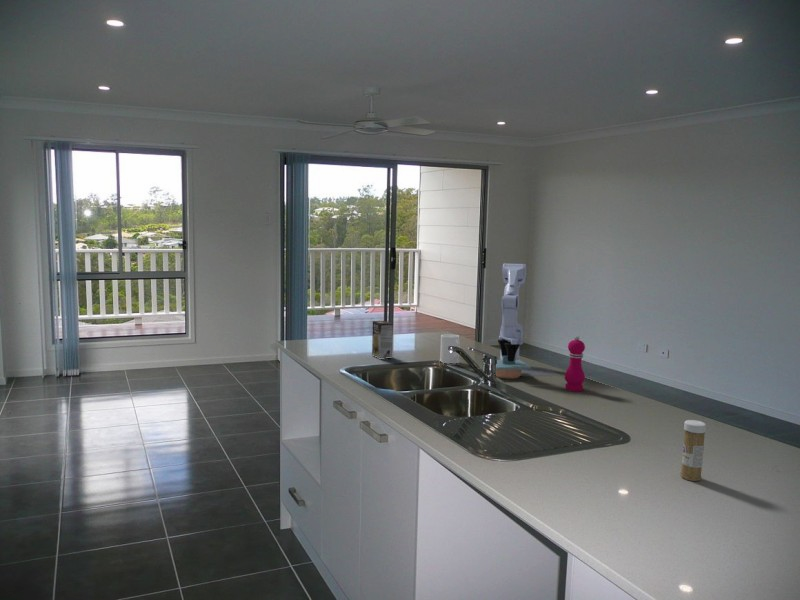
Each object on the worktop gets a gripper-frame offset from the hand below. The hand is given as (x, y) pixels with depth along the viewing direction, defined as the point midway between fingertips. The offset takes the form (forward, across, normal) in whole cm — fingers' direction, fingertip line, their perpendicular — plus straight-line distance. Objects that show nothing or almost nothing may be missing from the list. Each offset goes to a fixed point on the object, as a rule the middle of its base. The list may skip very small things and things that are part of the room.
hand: (507, 359), depth 245 cm
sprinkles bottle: (+7, +104, +12) cm, 105 cm away
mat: (+7, -7, +14) cm, 17 cm away
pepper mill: (+7, +21, +19) cm, 29 cm away
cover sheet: (+2, 0, 0) cm, 3 cm away
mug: (+7, -26, -17) cm, 32 cm away
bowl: (+7, 0, 0) cm, 7 cm away
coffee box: (+7, -39, -46) cm, 61 cm away
